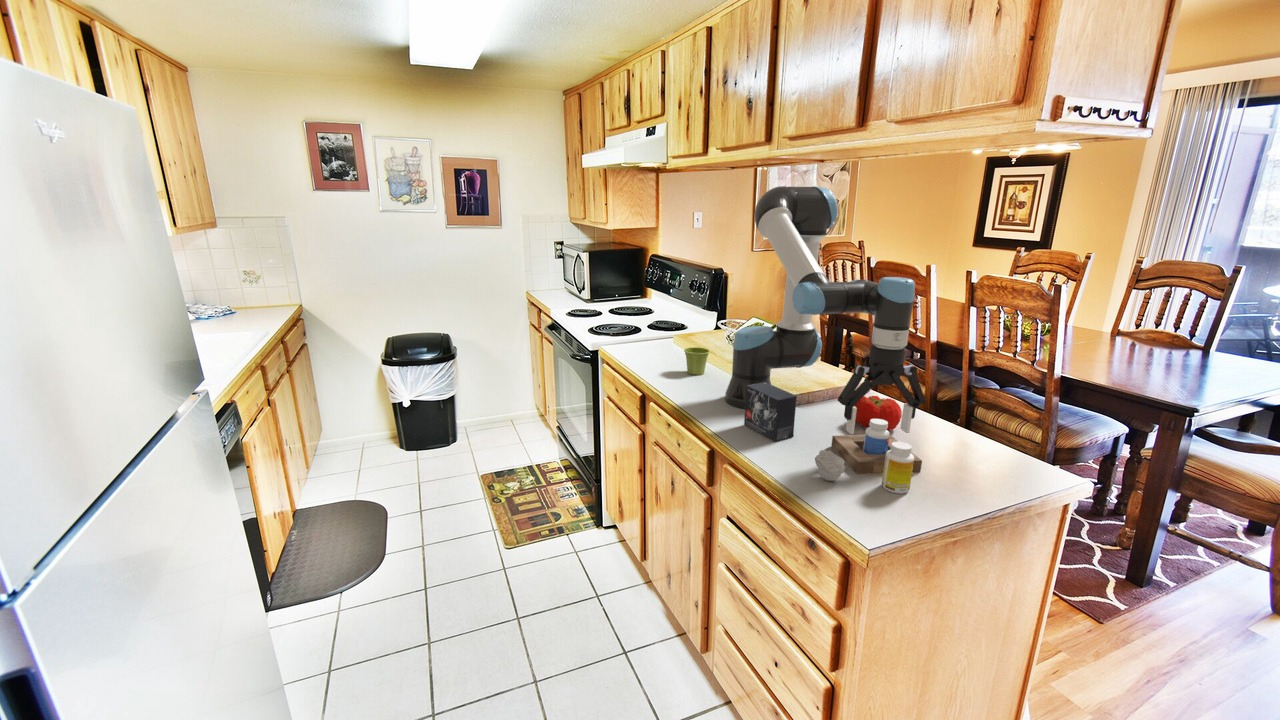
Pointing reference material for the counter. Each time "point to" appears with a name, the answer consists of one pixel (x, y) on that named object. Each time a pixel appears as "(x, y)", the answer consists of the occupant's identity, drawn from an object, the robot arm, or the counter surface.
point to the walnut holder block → (864, 454)
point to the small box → (770, 411)
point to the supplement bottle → (898, 468)
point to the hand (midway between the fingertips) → (877, 431)
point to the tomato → (878, 411)
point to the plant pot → (696, 360)
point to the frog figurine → (829, 465)
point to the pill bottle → (876, 437)
